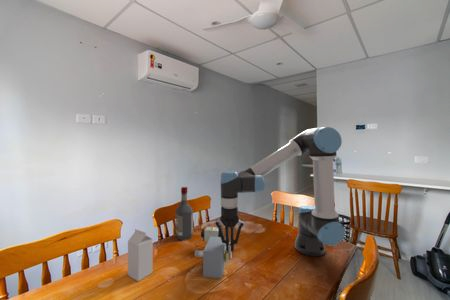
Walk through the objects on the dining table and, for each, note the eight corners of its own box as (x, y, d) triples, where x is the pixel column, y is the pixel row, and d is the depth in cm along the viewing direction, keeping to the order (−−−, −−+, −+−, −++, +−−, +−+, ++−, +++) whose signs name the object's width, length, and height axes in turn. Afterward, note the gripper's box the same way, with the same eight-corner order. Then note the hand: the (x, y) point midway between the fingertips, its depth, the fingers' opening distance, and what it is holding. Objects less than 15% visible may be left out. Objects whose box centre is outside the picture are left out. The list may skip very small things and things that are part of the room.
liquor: (188, 232, 132) (188, 185, 131) (194, 237, 124) (194, 188, 123) (174, 235, 127) (174, 187, 126) (179, 241, 119) (179, 189, 119)
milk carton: (138, 282, 84) (138, 235, 84) (127, 276, 88) (127, 231, 87) (152, 272, 90) (152, 229, 90) (142, 267, 94) (142, 226, 93)
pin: (229, 258, 96) (229, 248, 96) (228, 264, 91) (228, 253, 91) (196, 255, 98) (196, 245, 98) (193, 260, 93) (193, 250, 93)
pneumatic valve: (222, 252, 108) (222, 229, 108) (200, 249, 110) (200, 227, 110) (224, 247, 113) (224, 225, 113) (203, 244, 116) (203, 223, 115)
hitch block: (226, 260, 101) (226, 237, 100) (221, 278, 87) (221, 252, 86) (210, 258, 102) (210, 236, 101) (203, 276, 88) (203, 250, 88)
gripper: (243, 204, 95) (244, 254, 96) (217, 203, 97) (218, 252, 98) (242, 209, 88) (243, 263, 88) (214, 208, 90) (214, 261, 90)
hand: (230, 258), depth 93 cm, fingers closed
